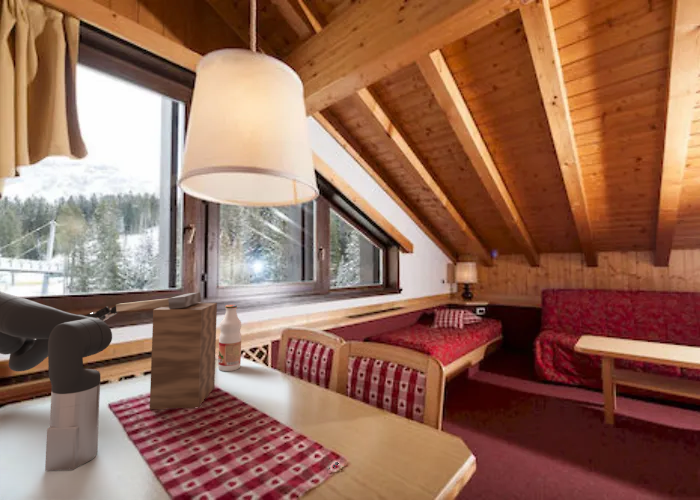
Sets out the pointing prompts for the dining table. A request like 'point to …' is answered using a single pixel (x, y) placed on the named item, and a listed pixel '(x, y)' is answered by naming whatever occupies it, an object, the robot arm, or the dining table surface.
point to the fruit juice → (230, 341)
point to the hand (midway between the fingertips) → (116, 307)
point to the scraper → (162, 302)
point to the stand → (183, 355)
